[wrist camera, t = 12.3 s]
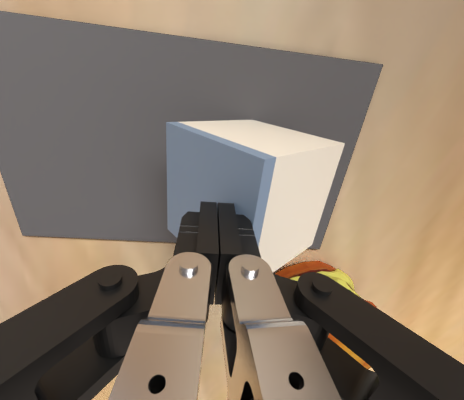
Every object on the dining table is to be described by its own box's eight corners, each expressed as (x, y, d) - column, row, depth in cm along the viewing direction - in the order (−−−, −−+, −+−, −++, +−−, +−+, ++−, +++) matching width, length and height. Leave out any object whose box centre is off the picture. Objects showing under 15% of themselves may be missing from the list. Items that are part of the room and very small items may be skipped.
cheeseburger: (273, 242, 23) (344, 344, 15) (349, 249, 28) (436, 330, 19) (238, 312, 27) (278, 422, 19) (309, 308, 32) (367, 396, 23)
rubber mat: (380, 64, 17) (383, 64, 16) (318, 247, 24) (319, 249, 24) (-53, 4, 14) (-59, 2, 13) (25, 233, 21) (22, 235, 21)
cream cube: (166, 122, 13) (252, 119, 18) (167, 229, 16) (240, 203, 21) (264, 159, 9) (344, 143, 13) (240, 295, 12) (312, 244, 16)
